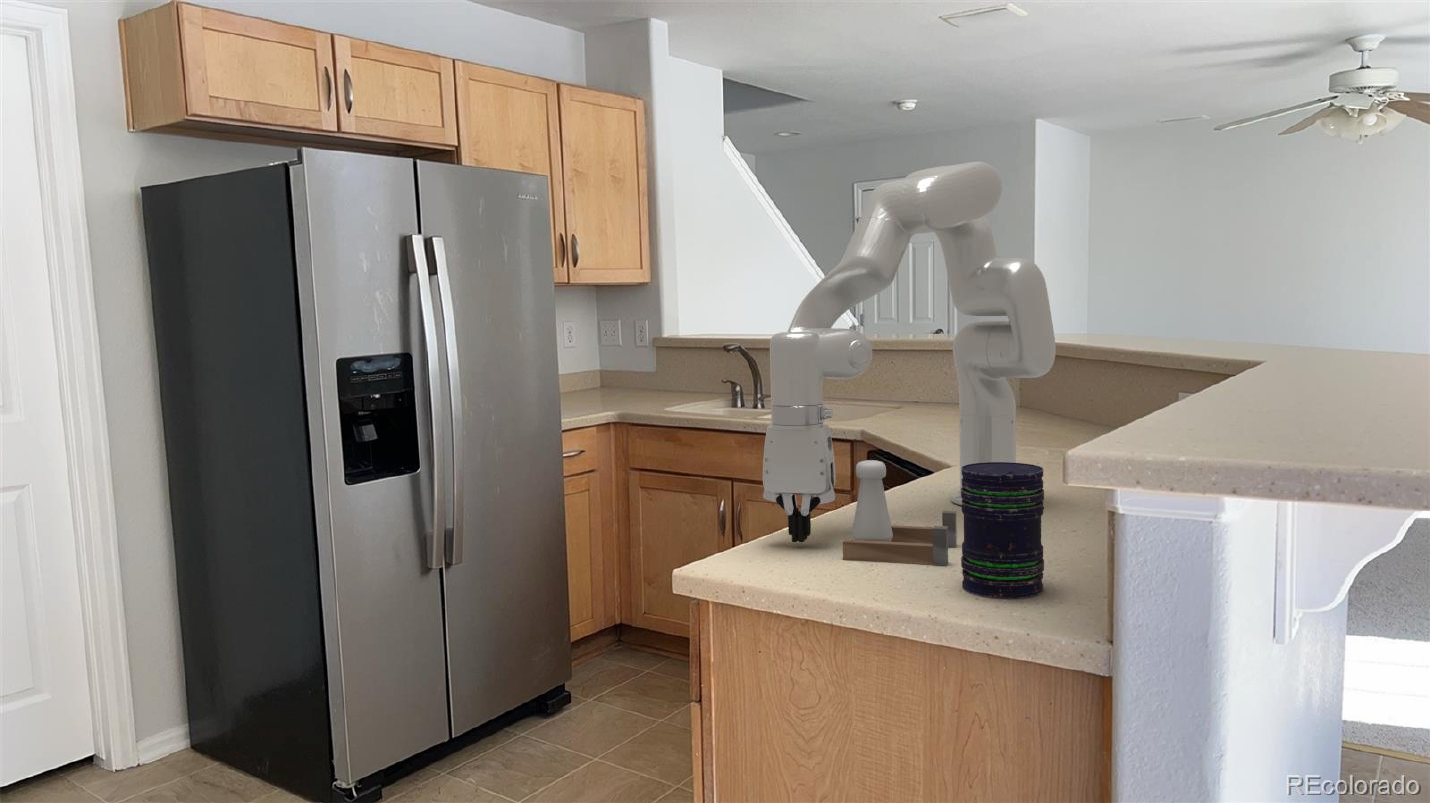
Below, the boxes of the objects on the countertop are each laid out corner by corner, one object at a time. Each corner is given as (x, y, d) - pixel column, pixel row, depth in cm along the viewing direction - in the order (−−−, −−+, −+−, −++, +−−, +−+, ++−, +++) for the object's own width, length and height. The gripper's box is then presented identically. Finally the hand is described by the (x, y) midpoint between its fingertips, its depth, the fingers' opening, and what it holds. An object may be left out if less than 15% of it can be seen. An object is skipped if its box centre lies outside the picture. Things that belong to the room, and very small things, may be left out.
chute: (860, 539, 152) (859, 507, 151) (956, 544, 147) (956, 510, 146) (842, 559, 140) (842, 524, 140) (946, 565, 136) (946, 529, 135)
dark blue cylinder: (950, 578, 129) (950, 463, 128) (1025, 575, 130) (1025, 460, 128) (976, 601, 119) (976, 476, 118) (1057, 597, 120) (1057, 473, 119)
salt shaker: (900, 549, 145) (899, 460, 144) (878, 557, 141) (876, 465, 140) (866, 543, 149) (865, 457, 148) (844, 551, 145) (842, 462, 144)
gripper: (853, 414, 148) (855, 537, 150) (755, 413, 153) (758, 532, 155) (841, 420, 141) (844, 549, 143) (740, 419, 146) (743, 543, 148)
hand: (799, 539), depth 149 cm, fingers closed
